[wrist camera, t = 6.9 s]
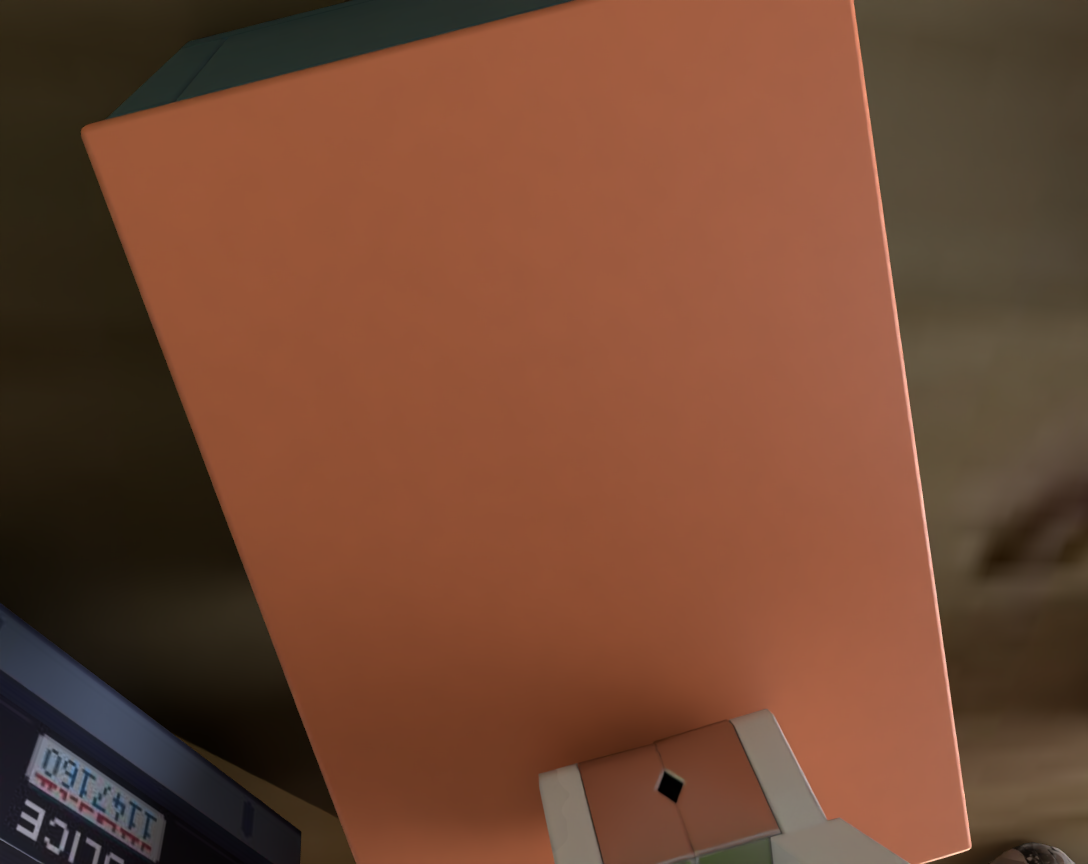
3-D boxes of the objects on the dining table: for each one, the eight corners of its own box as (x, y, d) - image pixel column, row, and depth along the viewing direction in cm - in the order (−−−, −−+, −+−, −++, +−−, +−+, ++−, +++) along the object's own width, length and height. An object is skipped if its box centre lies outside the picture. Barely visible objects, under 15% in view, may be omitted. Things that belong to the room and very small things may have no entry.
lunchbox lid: (942, 811, 14) (975, 851, 13) (414, 970, 13) (413, 1021, 12) (814, -51, 10) (848, -71, 9) (103, 131, 10) (74, 127, 9)
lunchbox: (728, 476, 21) (840, 653, 16) (392, 570, 21) (404, 780, 16) (663, -79, 15) (811, -62, 10) (184, 42, 15) (100, 119, 10)
